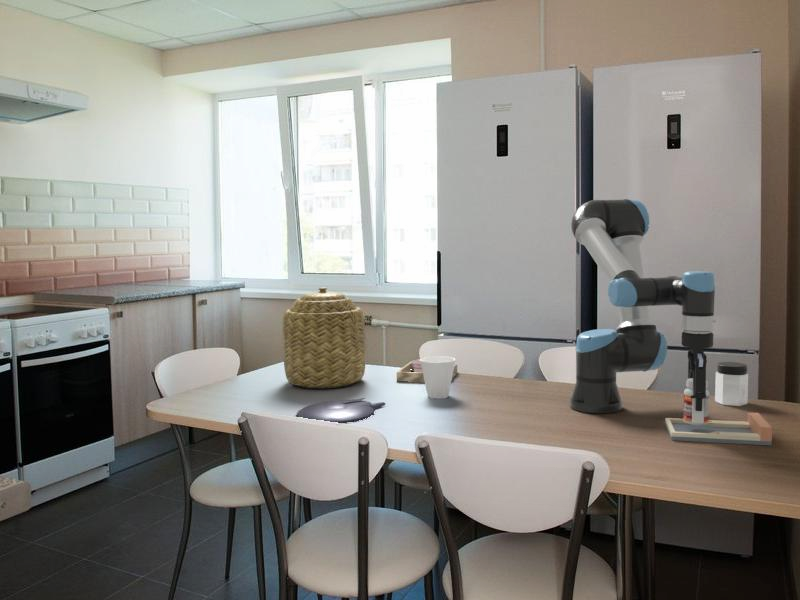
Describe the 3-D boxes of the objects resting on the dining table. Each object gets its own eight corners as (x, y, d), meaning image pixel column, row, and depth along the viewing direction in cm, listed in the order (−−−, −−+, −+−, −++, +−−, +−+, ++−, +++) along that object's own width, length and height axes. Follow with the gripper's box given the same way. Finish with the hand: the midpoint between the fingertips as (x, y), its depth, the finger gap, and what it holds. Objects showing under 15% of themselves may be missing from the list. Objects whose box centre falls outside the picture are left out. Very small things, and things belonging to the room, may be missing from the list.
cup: (415, 399, 223) (414, 361, 222) (427, 391, 234) (426, 355, 233) (449, 401, 219) (449, 363, 218) (460, 393, 230) (460, 356, 229)
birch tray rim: (396, 381, 250) (396, 372, 250) (409, 371, 269) (409, 362, 268) (447, 383, 246) (447, 373, 245) (457, 372, 264) (457, 363, 263)
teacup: (427, 382, 249) (427, 365, 249) (398, 379, 255) (398, 362, 255) (442, 375, 259) (442, 359, 259) (414, 373, 266) (414, 357, 265)
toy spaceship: (350, 399, 227) (350, 389, 227) (401, 411, 210) (401, 400, 210) (279, 416, 208) (279, 405, 208) (329, 431, 191) (329, 419, 191)
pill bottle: (679, 423, 179) (680, 380, 178) (687, 418, 183) (688, 376, 182) (704, 427, 175) (705, 383, 174) (712, 421, 179) (713, 379, 178)
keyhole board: (671, 440, 174) (671, 422, 174) (665, 425, 188) (665, 408, 187) (771, 445, 168) (772, 427, 168) (757, 429, 182) (758, 412, 182)
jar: (735, 407, 204) (736, 368, 203) (710, 402, 211) (711, 364, 210) (752, 403, 209) (753, 364, 208) (726, 398, 216) (727, 360, 215)
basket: (297, 373, 269) (294, 284, 265) (373, 374, 264) (370, 283, 261) (273, 391, 239) (269, 291, 236) (357, 392, 235) (354, 290, 231)
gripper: (720, 337, 167) (718, 430, 169) (707, 326, 185) (705, 410, 187) (687, 336, 169) (685, 428, 171) (677, 326, 187) (675, 409, 189)
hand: (695, 419), depth 179 cm, fingers closed on pill bottle, 6 cm apart
